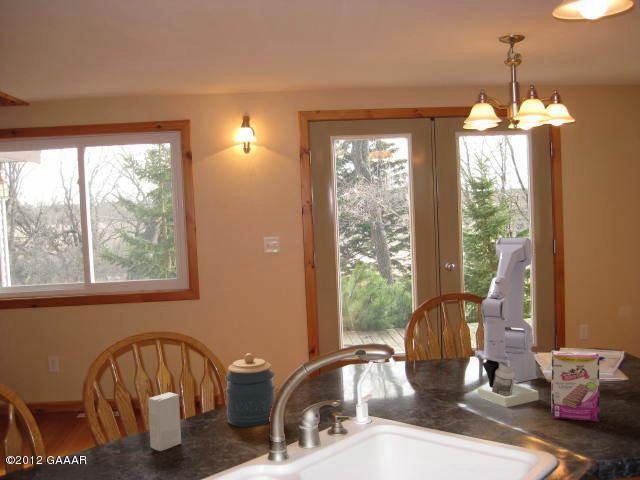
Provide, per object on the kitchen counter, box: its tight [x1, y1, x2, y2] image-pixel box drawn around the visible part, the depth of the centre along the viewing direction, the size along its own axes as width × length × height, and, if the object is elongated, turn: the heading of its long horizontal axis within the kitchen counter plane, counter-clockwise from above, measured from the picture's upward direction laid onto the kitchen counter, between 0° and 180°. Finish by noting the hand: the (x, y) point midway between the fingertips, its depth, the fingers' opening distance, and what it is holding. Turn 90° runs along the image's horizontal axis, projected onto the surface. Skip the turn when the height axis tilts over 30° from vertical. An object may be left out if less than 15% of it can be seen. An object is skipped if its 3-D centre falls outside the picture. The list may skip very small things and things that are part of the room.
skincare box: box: [147, 391, 182, 452], centre depth 144 cm, size 6×4×12 cm
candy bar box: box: [550, 350, 600, 423], centre depth 153 cm, size 11×5×16 cm, turn 71°
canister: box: [224, 352, 276, 428], centre depth 160 cm, size 13×13×18 cm
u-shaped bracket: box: [477, 383, 540, 408], centre depth 171 cm, size 12×11×2 cm
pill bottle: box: [491, 362, 515, 397], centre depth 171 cm, size 5×5×10 cm
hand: (494, 387), depth 174 cm, fingers closed, pressing on pill bottle
